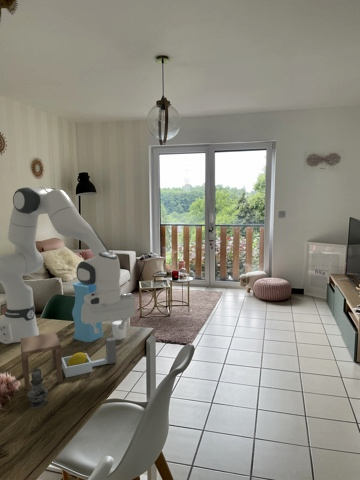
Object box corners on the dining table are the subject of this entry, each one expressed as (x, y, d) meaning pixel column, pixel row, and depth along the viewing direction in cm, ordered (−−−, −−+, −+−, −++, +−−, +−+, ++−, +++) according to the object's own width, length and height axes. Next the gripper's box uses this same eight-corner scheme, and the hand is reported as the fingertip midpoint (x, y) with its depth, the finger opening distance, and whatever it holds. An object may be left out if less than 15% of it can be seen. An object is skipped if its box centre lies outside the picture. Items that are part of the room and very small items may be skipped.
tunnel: (25, 390, 120) (22, 352, 119) (22, 373, 132) (20, 338, 130) (62, 381, 125) (60, 345, 124) (57, 366, 137) (55, 332, 136)
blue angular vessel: (89, 342, 159) (86, 286, 156) (73, 338, 164) (70, 284, 161) (104, 335, 167) (102, 282, 164) (89, 331, 172) (87, 279, 169)
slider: (65, 377, 128) (64, 353, 127) (61, 366, 136) (60, 343, 135) (118, 365, 136) (117, 342, 135) (111, 356, 144) (111, 334, 143)
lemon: (64, 367, 129) (84, 353, 131) (62, 359, 133) (81, 345, 136) (72, 377, 131) (92, 363, 133) (70, 369, 136) (88, 356, 138)
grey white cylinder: (124, 340, 161) (123, 325, 160) (109, 339, 162) (109, 324, 161) (129, 334, 168) (129, 320, 167) (115, 333, 169) (114, 319, 168)
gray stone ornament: (31, 398, 115) (29, 362, 114) (50, 397, 116) (48, 361, 114) (25, 409, 109) (22, 371, 108) (45, 408, 110) (43, 370, 108)
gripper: (132, 290, 144) (132, 324, 146) (79, 296, 135) (80, 332, 137) (137, 294, 138) (137, 329, 140) (83, 301, 129) (84, 338, 131)
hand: (109, 331), depth 138 cm, fingers open, 8 cm apart
